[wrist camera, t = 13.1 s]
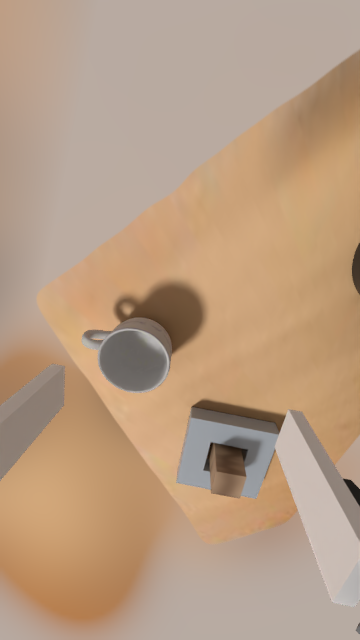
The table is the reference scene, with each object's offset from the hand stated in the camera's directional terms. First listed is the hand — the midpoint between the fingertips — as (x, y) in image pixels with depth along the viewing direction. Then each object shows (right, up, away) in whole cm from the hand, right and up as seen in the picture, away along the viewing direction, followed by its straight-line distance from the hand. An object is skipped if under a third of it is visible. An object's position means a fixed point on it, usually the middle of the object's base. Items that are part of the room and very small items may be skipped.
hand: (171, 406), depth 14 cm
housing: (+9, -20, +34) cm, 41 cm away
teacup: (-7, +2, +28) cm, 29 cm away
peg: (+9, -20, +34) cm, 41 cm away
